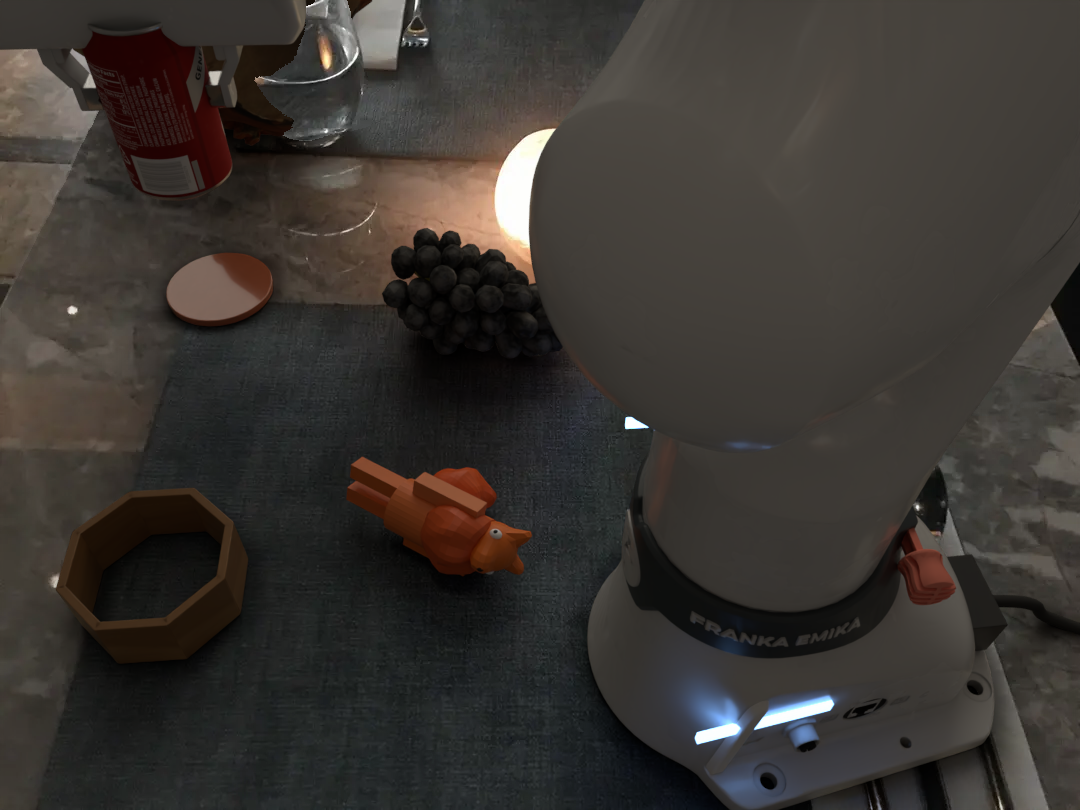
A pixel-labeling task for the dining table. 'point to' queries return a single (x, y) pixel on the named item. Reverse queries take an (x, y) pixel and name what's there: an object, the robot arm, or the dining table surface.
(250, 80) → the sculpture
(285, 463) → the dining table surface
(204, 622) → the can holder
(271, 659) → the dining table surface
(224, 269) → the coaster
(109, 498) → the dining table surface
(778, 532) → the robot arm
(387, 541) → the dining table surface
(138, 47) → the soda can
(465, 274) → the fruit
